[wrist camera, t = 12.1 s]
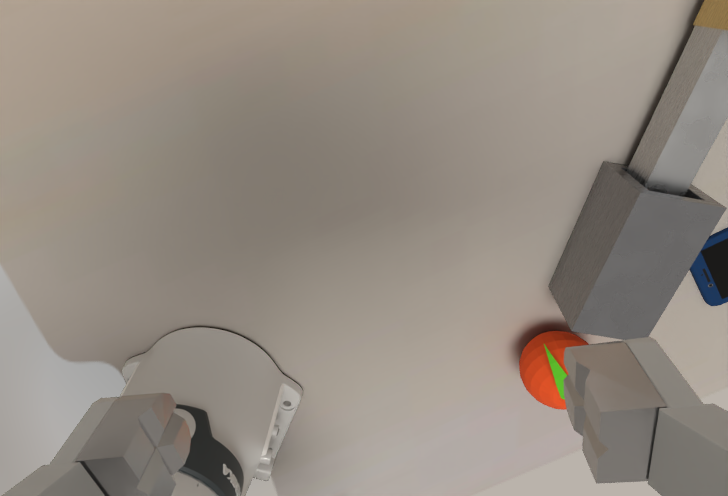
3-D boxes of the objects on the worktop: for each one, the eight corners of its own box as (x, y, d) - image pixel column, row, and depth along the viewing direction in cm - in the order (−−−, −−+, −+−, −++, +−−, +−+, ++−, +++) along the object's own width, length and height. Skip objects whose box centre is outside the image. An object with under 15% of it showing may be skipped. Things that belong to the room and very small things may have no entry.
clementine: (495, 326, 45) (512, 381, 39) (565, 296, 43) (595, 349, 37) (528, 379, 48) (549, 437, 42) (595, 353, 46) (627, 411, 40)
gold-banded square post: (655, 198, 37) (693, 229, 32) (613, 191, 37) (645, 221, 32) (808, -95, 28) (891, -109, 23) (752, -106, 28) (825, -123, 23)
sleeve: (612, 297, 43) (644, 343, 38) (548, 286, 43) (571, 331, 37) (677, 174, 37) (726, 208, 32) (603, 161, 37) (640, 192, 31)
